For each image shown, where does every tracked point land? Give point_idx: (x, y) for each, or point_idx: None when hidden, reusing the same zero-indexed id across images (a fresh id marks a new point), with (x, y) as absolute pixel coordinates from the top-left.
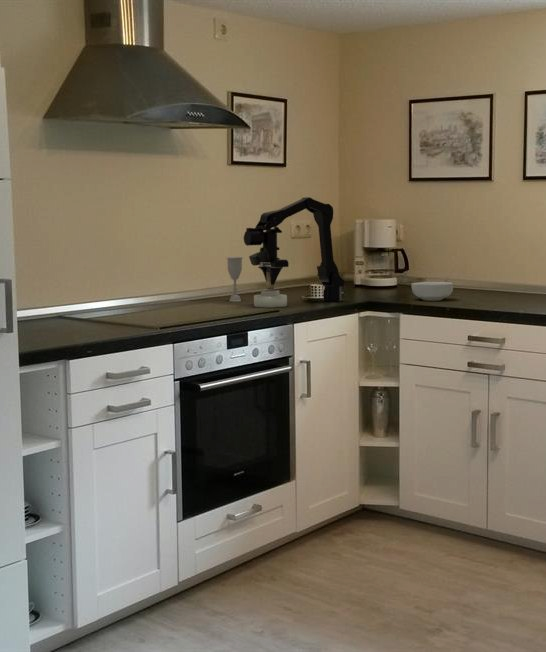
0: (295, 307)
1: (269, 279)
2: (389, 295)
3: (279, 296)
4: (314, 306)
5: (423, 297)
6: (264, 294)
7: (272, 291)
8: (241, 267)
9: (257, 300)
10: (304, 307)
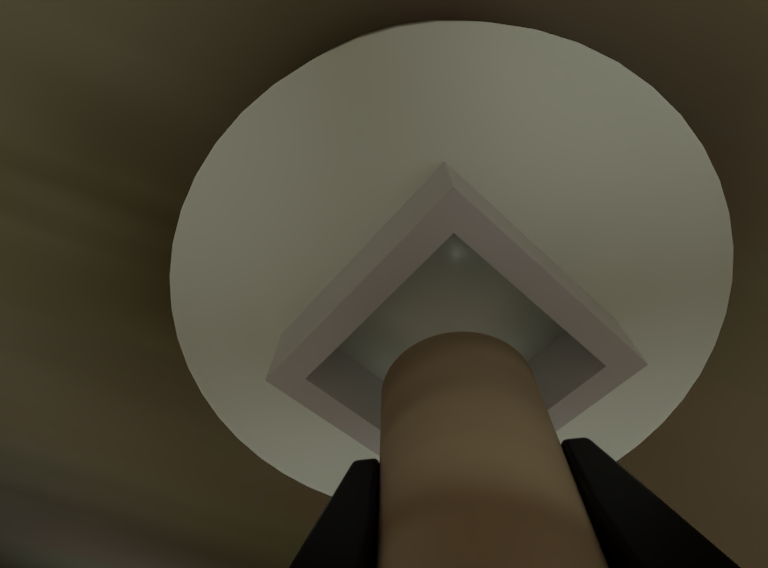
0: (135, 411)
1: (394, 547)
2: None
3: (225, 379)
4: (175, 556)
5: None
6: (398, 218)
7: None
8: None
9: (364, 36)
10: (111, 472)
